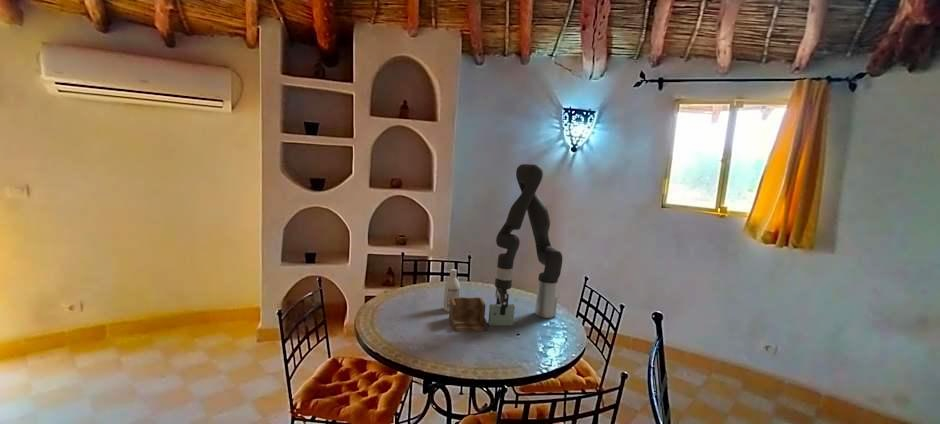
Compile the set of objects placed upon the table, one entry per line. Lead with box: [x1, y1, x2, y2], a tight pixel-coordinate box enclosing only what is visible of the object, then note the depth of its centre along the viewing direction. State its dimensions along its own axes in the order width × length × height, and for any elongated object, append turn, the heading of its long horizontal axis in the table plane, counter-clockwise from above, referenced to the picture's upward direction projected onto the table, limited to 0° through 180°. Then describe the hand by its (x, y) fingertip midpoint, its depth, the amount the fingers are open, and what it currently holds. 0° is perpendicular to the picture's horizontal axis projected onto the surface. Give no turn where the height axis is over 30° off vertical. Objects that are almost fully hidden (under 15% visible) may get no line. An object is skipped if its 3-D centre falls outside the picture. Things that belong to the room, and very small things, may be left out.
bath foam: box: [443, 268, 461, 313], centre depth 240 cm, size 7×7×20 cm
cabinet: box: [448, 296, 488, 332], centre depth 225 cm, size 14×14×10 cm
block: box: [487, 303, 516, 326], centre depth 228 cm, size 11×3×9 cm, turn 101°
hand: (500, 311), depth 228 cm, fingers open, 8 cm apart
